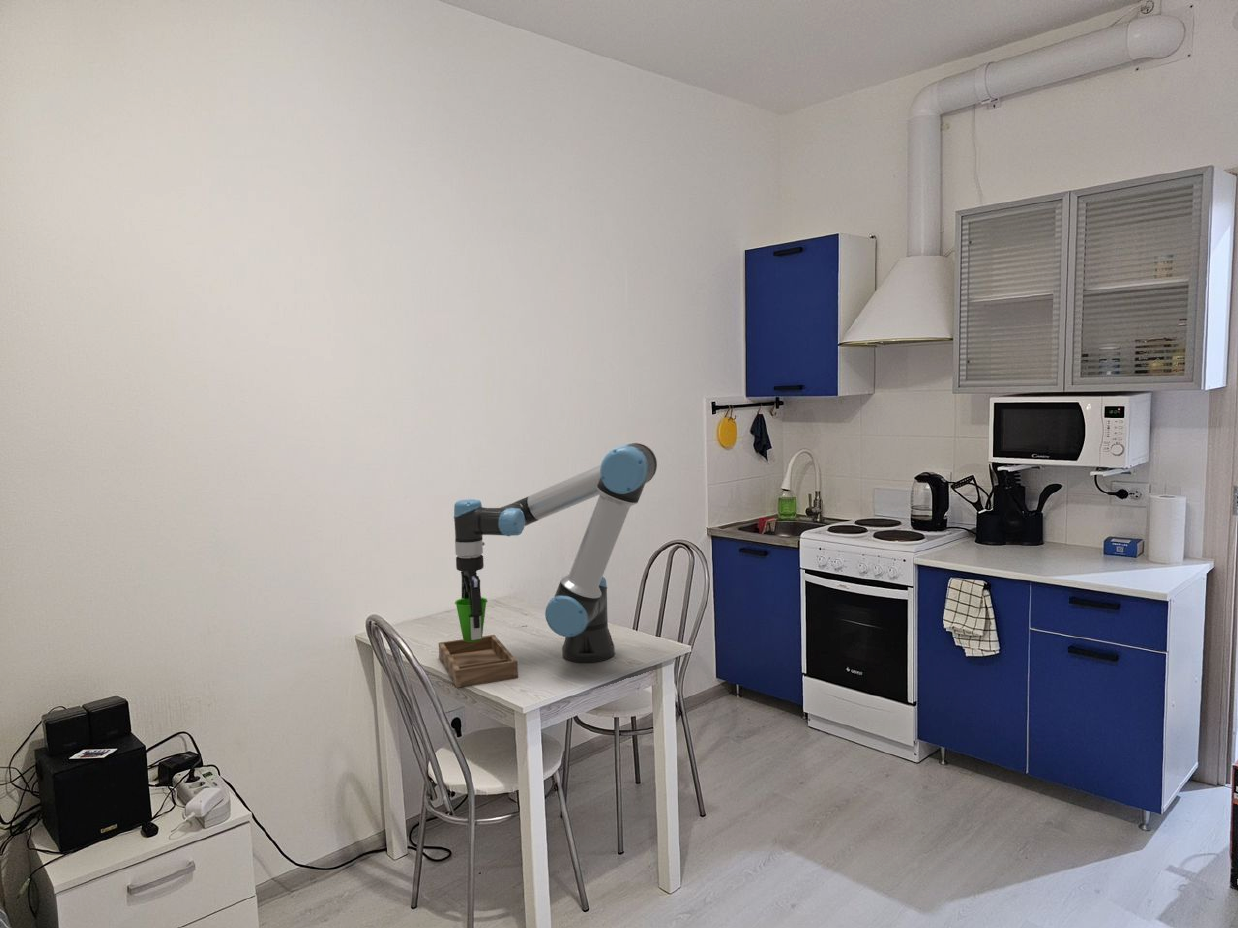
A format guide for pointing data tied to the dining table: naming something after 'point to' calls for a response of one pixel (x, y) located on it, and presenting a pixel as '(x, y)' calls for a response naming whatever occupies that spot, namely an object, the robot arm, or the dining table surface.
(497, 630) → the dining table surface
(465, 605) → the cup
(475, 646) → the crate
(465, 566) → the robot arm
